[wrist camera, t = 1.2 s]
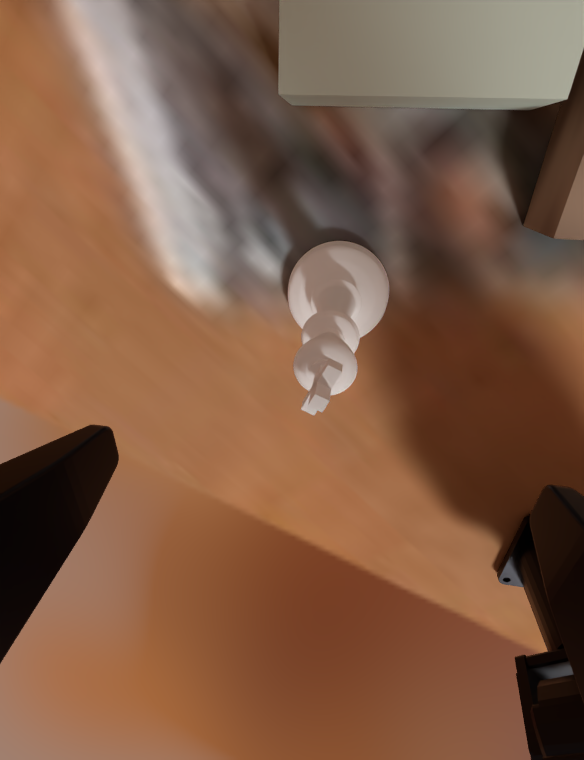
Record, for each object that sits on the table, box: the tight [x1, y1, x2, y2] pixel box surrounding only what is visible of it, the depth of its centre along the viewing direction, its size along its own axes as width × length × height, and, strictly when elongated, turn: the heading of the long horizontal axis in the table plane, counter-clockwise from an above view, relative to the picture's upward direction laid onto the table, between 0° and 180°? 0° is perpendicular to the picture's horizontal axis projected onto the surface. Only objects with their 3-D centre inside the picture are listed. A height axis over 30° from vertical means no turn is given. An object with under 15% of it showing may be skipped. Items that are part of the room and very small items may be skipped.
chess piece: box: [288, 241, 389, 415], centre depth 15 cm, size 5×5×10 cm
